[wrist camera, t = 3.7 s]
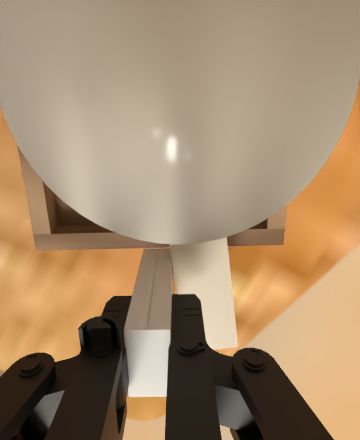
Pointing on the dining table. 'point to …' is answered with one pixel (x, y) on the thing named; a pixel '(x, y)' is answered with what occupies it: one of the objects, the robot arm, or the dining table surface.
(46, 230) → the brown flat rectangular tray
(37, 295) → the dining table surface
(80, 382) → the robot arm
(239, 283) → the dining table surface
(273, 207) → the white pot with handle
